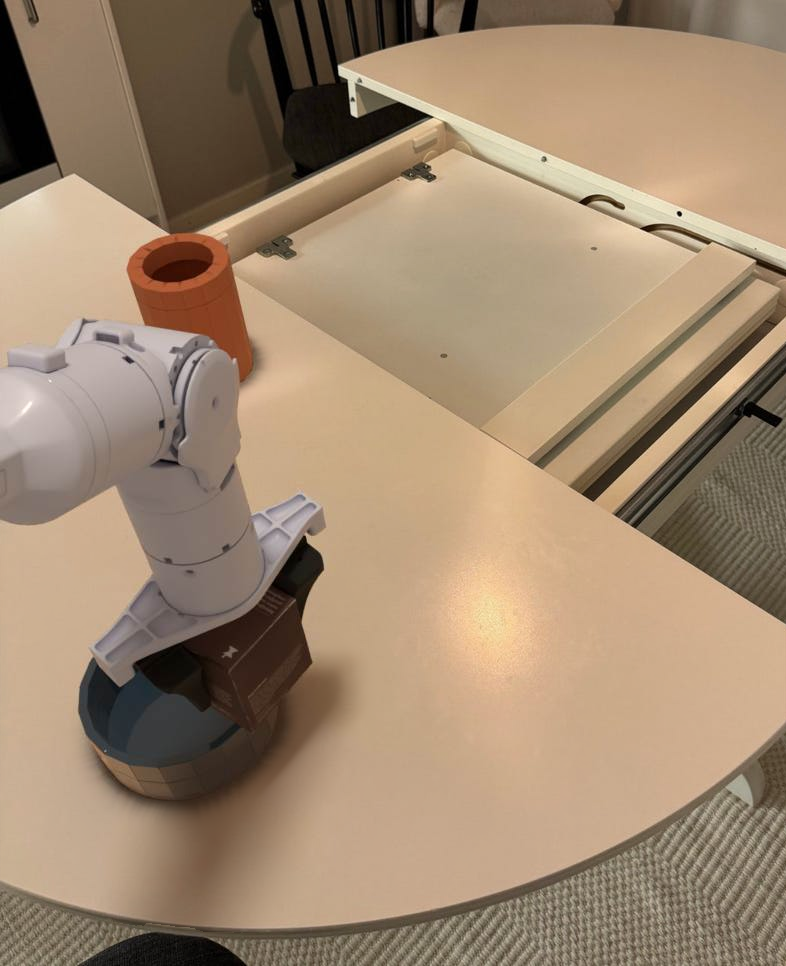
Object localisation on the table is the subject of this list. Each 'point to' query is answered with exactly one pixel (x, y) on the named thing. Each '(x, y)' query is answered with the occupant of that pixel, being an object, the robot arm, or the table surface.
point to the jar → (191, 291)
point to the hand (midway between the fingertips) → (243, 660)
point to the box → (253, 659)
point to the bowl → (164, 737)
